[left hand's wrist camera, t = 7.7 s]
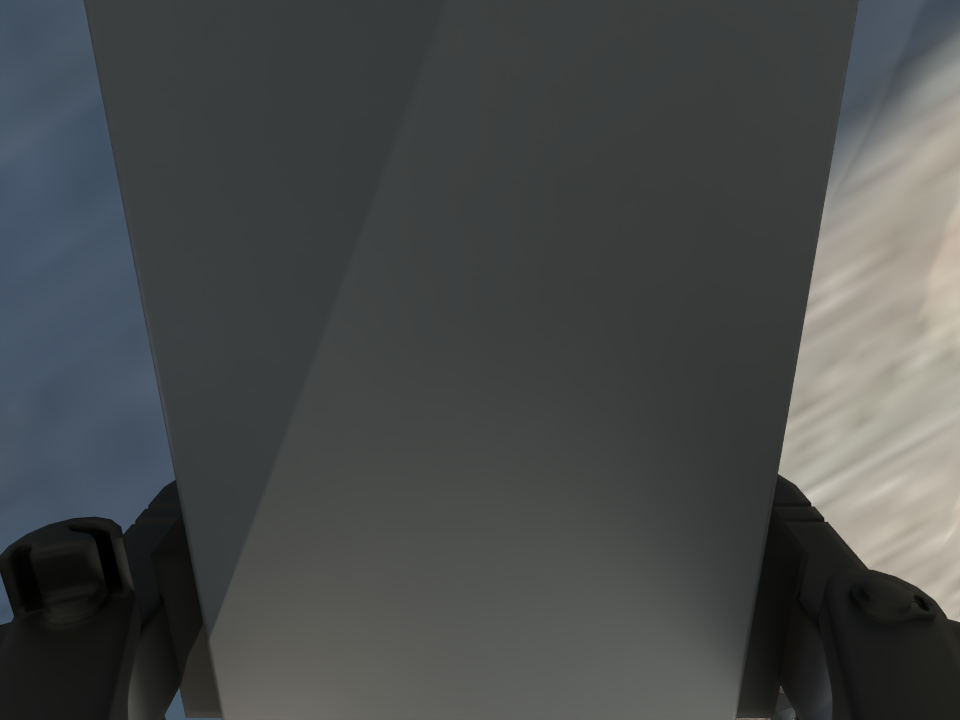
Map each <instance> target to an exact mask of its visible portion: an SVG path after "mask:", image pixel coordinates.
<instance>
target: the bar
mask: <svg viewBox="0 0 960 720" xmlns="http://www.w3.org/2000/svg"><path fill="white" fill-rule="evenodd" d="M858 3H859V0H84V4H85V9H86V14H87V19H88V25H89V30H90V35H91V40H92V46H93V51H94V56H95V61H96V66H97V72H98V77H99V82H100V87H101V92H102V98H103V103H104V108H105V113H106V119H107V124H108V129H109V134H110V139H111V145H112V150H113V155H114V160H115V165H116V171H117V176H118V181H119V186H120V192H121V197H122V202H123V207H124V212H125V218H126V223H127V228H128V233H129V238H130V244H131V249H132V254H133V259H134V265H135V270H136V275H137V280H138V285H139V291H140V296H141V301H142V306H143V311H144V317H145V322H146V327H147V332H148V337H149V343H150V348H151V353H152V358H153V364H154V369H155V374H156V379H157V384H158V390H159V395H160V400H161V405H162V410H163V416H164V421H165V426H166V431H167V437H168V442H169V447H170V452H171V457H172V463H173V468H174V473H175V478H176V483H177V489H178V494H179V499H180V504H181V510H182V515H183V520H184V525H185V530H186V536H187V541H188V546H189V551H190V556H191V562H192V567H193V572H194V577H195V582H196V588H197V593H198V598H199V603H200V609H201V614H202V619H203V624H204V629H205V635H206V640H207V645H208V650H209V655H210V661H211V666H212V671H213V676H214V682H215V687H216V692H217V697H218V702H219V708H220V713H221V718H222V720H736V715H737V709H738V703H739V697H740V691H741V685H742V680H743V674H744V668H745V662H746V656H747V650H748V645H749V639H750V633H751V627H752V621H753V615H754V610H755V604H756V598H757V592H758V586H759V580H760V574H761V569H762V563H763V557H764V551H765V545H766V539H767V534H768V528H769V522H770V516H771V510H772V504H773V499H774V493H775V487H776V481H777V475H778V469H779V464H780V458H781V452H782V446H783V440H784V434H785V429H786V423H787V417H788V411H789V405H790V399H791V394H792V388H793V382H794V376H795V370H796V364H797V359H798V353H799V347H800V341H801V335H802V329H803V324H804V318H805V312H806V306H807V300H808V294H809V289H810V283H811V277H812V271H813V265H814V259H815V254H816V248H817V242H818V236H819V230H820V224H821V219H822V213H823V207H824V201H825V195H826V189H827V184H828V178H829V172H830V166H831V160H832V154H833V149H834V143H835V137H836V131H837V125H838V119H839V114H840V108H841V102H842V96H843V90H844V84H845V79H846V73H847V67H848V61H849V55H850V49H851V44H852V38H853V32H854V26H855V20H856V14H857V9H858Z"/></svg>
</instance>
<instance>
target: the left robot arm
mask: <svg viewBox="0 0 960 720" xmlns="http://www.w3.org/2000/svg"><path fill="white" fill-rule="evenodd" d="M148 506H149V507H148V509H145V510H144V511H143V512H142V513H141V515H140V516H139V517H138V518H137V519H136V520H135V521H136V522H135V524H132V525H131V526H130V527H129V529H128V530H127V531H126V532H125V533H124V534H123V533H122V529H121V526H119V525H118V524H117V523H115V522H114V521H113V520H111V519H105V518H100V517H84V518H73V519H69V520H65V521H61V522H57V523H53V524H49V525H47V526H45V527H42V528H40V529H38V530H35V531H33V532H31V533H28V534H26V535H25V536H23V537H22V538H20V539H19V540H17V541H16V542H14V543H13V544H11V545H10V546H8V547H7V548H6V550H5V551H4V552H3V553H2V554H1V555H0V573H1V576H2V579H3V583H4V586H5V589H6V592H7V595H8V598H9V601H10V604H11V608H12V611H13V614H14V618H13V620H12V622H10V623H6V624H2V625H0V720H166V719H165V713H166V711H167V709H168V707H169V706H170V704H171V702H172V700H173V698H174V696H175V694H176V692H177V690H178V689H179V688H180V693H181V698H182V702H183V707H184V711H185V716H186V718H221V713H220V708H219V702H218V697H217V692H216V687H215V682H214V676H213V671H212V666H211V661H210V655H209V650H208V645H207V640H206V635H205V629H204V624H203V619H202V614H201V609H200V603H199V598H198V593H197V588H196V582H195V577H194V572H193V567H192V562H191V556H190V551H189V546H188V541H187V536H186V530H185V525H184V520H183V515H182V510H181V504H180V499H179V494H178V489H177V483H176V480H175V481H173V482H171V483H170V484H168V485H167V486H165V487H164V488H163V489H162V490H161V491H160V492H159V494H158V495H157V496H156V497H155V498H154V499H153V501H152V502H151V503H150V504H149V505H148ZM780 685H781V687H782V688H783V690H784V692H785V694H786V696H787V698H788V700H789V702H790V703H791V705H792V707H793V709H794V711H795V713H796V714H795V719H794V720H960V622H957V621H953V620H949V619H947V617H946V615H945V613H944V612H943V611H942V609H941V608H940V607H939V605H938V604H937V603H936V601H935V600H933V599H932V598H931V597H930V596H928V595H927V594H926V593H924V592H923V591H922V590H920V589H919V588H918V587H916V586H914V585H912V584H910V583H908V582H906V581H904V580H902V579H900V578H898V577H896V576H892V575H889V574H885V573H882V572H878V571H875V570H869V569H868V568H867V567H866V566H865V565H864V563H863V562H862V561H861V560H860V559H859V558H858V557H857V555H856V554H855V553H854V552H853V551H852V550H851V548H850V547H849V546H848V545H847V544H846V543H845V541H844V540H843V539H842V538H841V537H840V536H839V535H838V533H837V532H836V531H835V530H834V529H833V528H832V526H831V525H830V524H829V523H828V522H825V521H824V517H823V516H822V515H821V514H820V513H819V511H818V510H817V509H816V508H815V507H812V506H811V502H810V501H809V500H808V499H807V498H806V496H805V495H804V494H803V493H802V492H801V491H800V490H799V488H798V487H797V486H796V485H795V484H793V483H792V482H790V481H788V480H787V479H785V478H783V477H782V476H780V475H779V474H778V475H777V481H776V487H775V493H774V499H773V504H772V510H771V516H770V522H769V528H768V534H767V539H766V545H765V551H764V557H763V563H762V569H761V574H760V580H759V586H758V592H757V598H756V604H755V610H754V615H753V621H752V627H751V633H750V639H749V645H748V650H747V656H746V662H745V668H744V674H743V680H742V685H741V691H740V697H739V703H738V709H737V715H736V718H774V713H775V709H776V704H777V699H778V695H779V690H780Z"/></svg>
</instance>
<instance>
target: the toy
mask: <svg viewBox="0 0 960 720" xmlns="http://www.w3.org/2000/svg"><path fill="white" fill-rule="evenodd" d="M795 714H796V713H795V711H794V709H793V707H792V705H791V703H790V702H789V700H788V698H787V696H786V694H785V693H783V694H779V695H778V699H777V704H776V709H775V713H774V718H771V720H792V719H794V718H795Z"/></svg>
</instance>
